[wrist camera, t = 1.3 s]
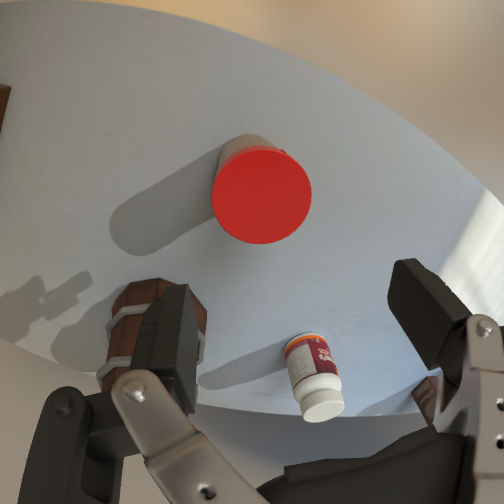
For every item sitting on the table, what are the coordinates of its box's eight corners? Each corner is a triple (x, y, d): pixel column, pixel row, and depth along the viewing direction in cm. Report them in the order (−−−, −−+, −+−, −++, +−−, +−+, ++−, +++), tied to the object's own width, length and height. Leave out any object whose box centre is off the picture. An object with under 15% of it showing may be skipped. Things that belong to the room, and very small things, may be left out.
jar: (234, 124, 26) (240, 136, 17) (291, 151, 27) (322, 176, 19) (207, 180, 28) (201, 218, 20) (263, 204, 30) (280, 250, 21)
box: (421, 392, 54) (441, 432, 44) (410, 392, 53) (430, 435, 42) (438, 375, 52) (461, 415, 41) (427, 375, 50) (451, 418, 40)
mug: (189, 357, 39) (184, 453, 26) (107, 328, 36) (77, 422, 23) (239, 273, 33) (251, 384, 20) (137, 232, 30) (87, 331, 17)
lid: (237, 128, 18) (239, 130, 17) (321, 169, 20) (329, 176, 18) (198, 212, 21) (196, 223, 19) (278, 244, 23) (282, 257, 21)
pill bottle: (333, 343, 41) (358, 406, 31) (301, 365, 42) (317, 428, 33) (309, 324, 38) (332, 392, 28) (274, 349, 40) (288, 417, 30)
